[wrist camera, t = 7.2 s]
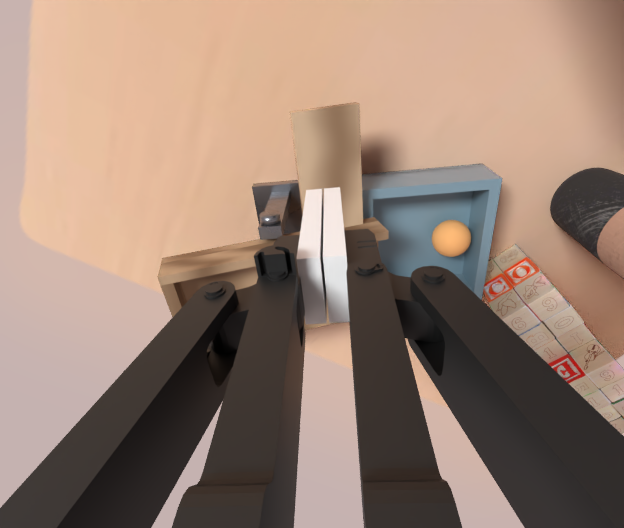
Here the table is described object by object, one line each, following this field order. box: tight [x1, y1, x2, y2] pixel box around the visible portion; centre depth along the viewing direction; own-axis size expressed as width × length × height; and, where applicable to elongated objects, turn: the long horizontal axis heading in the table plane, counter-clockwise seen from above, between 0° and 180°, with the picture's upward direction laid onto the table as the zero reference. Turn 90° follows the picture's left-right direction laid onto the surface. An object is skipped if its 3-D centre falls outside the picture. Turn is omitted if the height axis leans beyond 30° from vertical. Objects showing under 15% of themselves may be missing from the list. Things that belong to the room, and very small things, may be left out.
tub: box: [362, 164, 502, 299], centre depth 40 cm, size 13×14×5 cm
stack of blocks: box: [483, 244, 624, 434], centre depth 42 cm, size 21×6×12 cm, turn 45°
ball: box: [432, 220, 471, 257], centre depth 39 cm, size 4×4×4 cm
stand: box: [252, 180, 302, 240], centre depth 39 cm, size 6×14×10 cm, turn 6°
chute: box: [158, 102, 389, 330], centre depth 33 cm, size 20×20×6 cm
